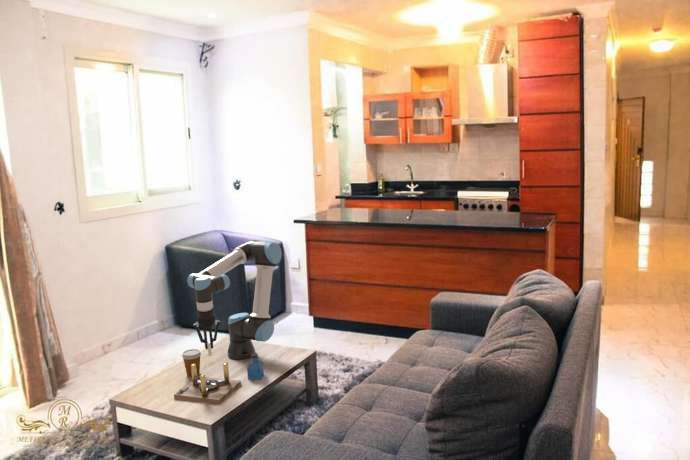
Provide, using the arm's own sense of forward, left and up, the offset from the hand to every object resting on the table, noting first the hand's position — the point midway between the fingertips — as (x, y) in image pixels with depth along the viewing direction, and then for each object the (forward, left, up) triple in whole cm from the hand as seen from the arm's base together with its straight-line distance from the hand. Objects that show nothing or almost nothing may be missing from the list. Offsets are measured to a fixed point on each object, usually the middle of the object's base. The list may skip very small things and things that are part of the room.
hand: (210, 354), depth 281 cm
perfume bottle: (-12, +18, -16) cm, 27 cm away
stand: (+7, +3, -15) cm, 17 cm away
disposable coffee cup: (-9, -16, -16) cm, 24 cm away
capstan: (+7, 0, -13) cm, 15 cm away
